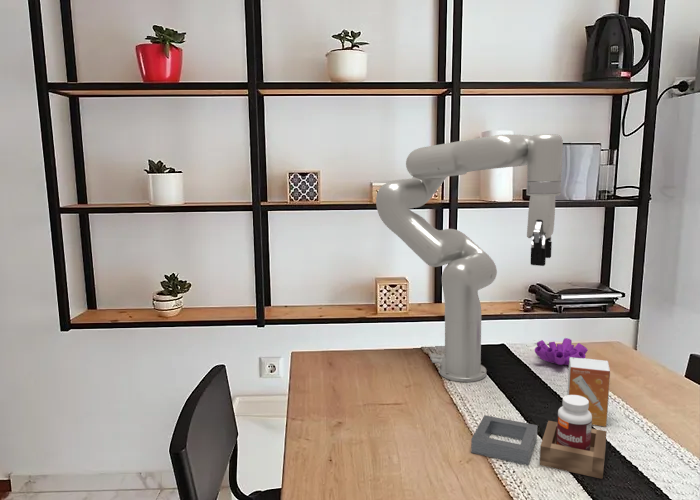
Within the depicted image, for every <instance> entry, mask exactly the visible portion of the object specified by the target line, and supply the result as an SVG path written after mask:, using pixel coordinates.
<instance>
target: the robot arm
mask: <svg viewBox="0 0 700 500" xmlns="http://www.w3.org/2000/svg"><path fill="white" fill-rule="evenodd" d="M563 143H564V142H563V138H562V136H561V135H559V134H555V133H548V134H547V133H545V134H544V133H542V134H534V135H525V134H496V135H490V136H483V137H478V138H473V139H467V140H458V141H454V142H453V141H451V142H447V143H441V144H436V145H435V144H434V145H430V146H429V145H427V146H422V147H418V148H415V149H413V150H412V151H411V152H409V154H408V156H407V157H406V161H405V167H406V170H407V172H408V173H409V174H410V176H412V177H411V178H404V179H395V180H391V181H388V182H386V183H384V184H382V186H380V187H379V189H378V190H377V193H376V198H375V204H376V210H377V213H378V216H379V217H380V220H381V222H382V223H383V225H384V226H386V227H387V228H388V229H389V230H390V231H391V232H393V234H395V235H396V236H397V237H398V238H399V239H400V240H401V241H402V242H403V243H405V245H406V246H408V248H409V249H411V250H412V252H414V253H415V254H416V255H417V257H419V258H420V259H421V260H422V261H423V262H424V263H425V264H426V265H427V266H429V267H432V268H437V267H442V266H445V265H446V266H445V267H444V268H443V271H442V274H441V287H442V292H443V298H444V300H443V301H444V353H442V354H438V353H434V352H433V353H432V352H431V353H430V360H431V363H432V364H439V365H440V366H439V368H438V373H439V374H440V376H441V377H443V378H445V379H447V380H449V381H454V382H461V383H469V382H470V383H471V382H477V381H480V380H483V379H484V378H485V377H486V376H487V368H486V367H485V366H484V365H482V364H481V363H482V361H481V359H482V355H481V354H482V351H481V350H482V305H481V299H480V297H479V292H478V291H480V290H481V289H482V290H483V289H484V288H486V287H488V286H490V285H491V284H492V283H494V281H495V280H496V277H497V274H498V271H497V266H496V263H495V261H494V260H493V259H492V258H491V256H489V254H488V253H486V251H484V250H483V249H482V248H481V247H480V246H479V245H478V244H476V242H474V241H473V240H472V239H471V238H470V237H468V235H467V234H465V233H463V232H462V231H460V230H458V229H454V228H445V229H441V230H440V229H437V228H435V227H434V226H433V225H432V224H430V223H429V222H428V221H427V219H425V218H424V217H422V216H421V215H419V214H418V213H416V212H414V211H412V210H411V209H414V208H415V209H417V208H420V207H423V206H424V205H425V204H427V203H428V202H429V201H430V199H432V197H433V196H434V194H435V193H436V192H437V191H438V189H439V188H440V187H441V185H442V184H443V183H444V181H445V180H446V179H447V177H455V176H456V177H457V176H463V175H467V173H469V172H478V171H485V170H492V169H493V170H495V169H504V168H514V167H523V166H526V170H527V171H526V192H525V193H526V196H530V197H529V204H528V213H527V215H528V216H527V228H526V229H527V230H526V237H527V238H528V239H531V238H532V241H531V247H530V265H531V266H537V267H538V266H539V267H541V266H542V267H544V266H545V265H546V262H547V261H546V259H550V258H551V257H552V248H553V247H552V244H553V242H552V235H553V234H554V230H555V229H554V228H555V215H556V197H558V196H561V194H562V193H561V192H562V171H563V170H562V166H563V151H564V150H563V147H564V146H563V145H564V144H563Z"/></svg>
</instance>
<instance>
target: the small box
mask: <svg viewBox="0 0 700 500" xmlns="http://www.w3.org/2000/svg"><path fill="white" fill-rule="evenodd" d="M610 377H611V370H610V363H609V360H603V359H594V358H593V359H592V358H586V357H585V358H573V357H569V365H568V376H567V394H566V395H579V396H582V397H585V398H586V399H587V400H588V401H589V408H588V410H589V411H590V413H591V415H592V425H593V426H599V427H603V428H604V427H605V428H606V427H607V422H608V421H607V420H608V409H609V408H608V407H609V395H610V394H609V393H610V381H611V380H610V379H611V378H610Z"/></svg>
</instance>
